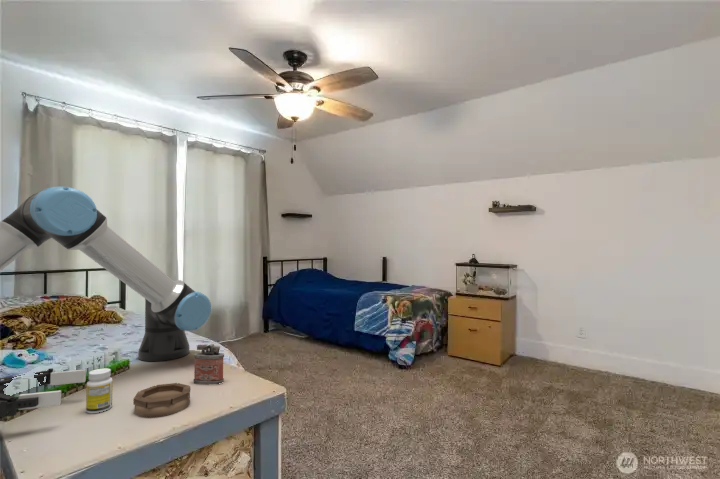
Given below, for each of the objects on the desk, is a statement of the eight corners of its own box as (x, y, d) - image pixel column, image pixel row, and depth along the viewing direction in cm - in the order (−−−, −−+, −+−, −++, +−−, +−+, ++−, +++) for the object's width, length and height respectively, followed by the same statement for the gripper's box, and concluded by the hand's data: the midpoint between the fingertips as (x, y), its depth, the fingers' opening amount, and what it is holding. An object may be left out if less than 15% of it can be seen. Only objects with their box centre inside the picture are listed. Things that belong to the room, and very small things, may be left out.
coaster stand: (140, 400, 87) (140, 386, 87) (191, 394, 90) (192, 381, 90) (128, 420, 76) (129, 405, 76) (187, 413, 80) (187, 398, 80)
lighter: (226, 380, 100) (226, 343, 100) (220, 385, 96) (220, 346, 97) (197, 379, 101) (198, 342, 101) (190, 384, 97) (191, 345, 98)
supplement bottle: (94, 405, 84) (95, 367, 84) (116, 404, 84) (117, 367, 84) (80, 414, 79) (81, 374, 79) (104, 413, 79) (104, 374, 80)
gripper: (-17, 394, 84) (93, 383, 91) (-112, 450, 61) (46, 430, 68) (-16, 361, 85) (93, 353, 92) (-110, 404, 61) (47, 388, 68)
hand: (74, 385), depth 80 cm, fingers open, 13 cm apart
